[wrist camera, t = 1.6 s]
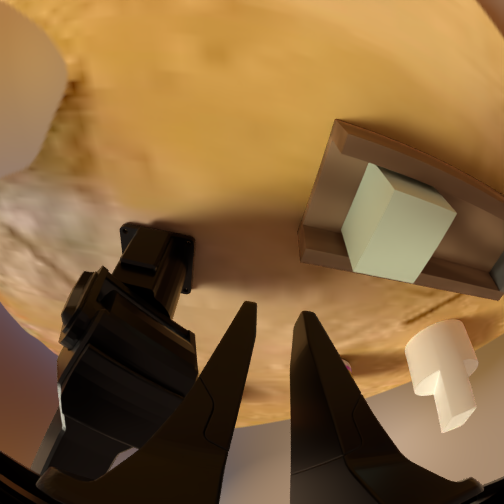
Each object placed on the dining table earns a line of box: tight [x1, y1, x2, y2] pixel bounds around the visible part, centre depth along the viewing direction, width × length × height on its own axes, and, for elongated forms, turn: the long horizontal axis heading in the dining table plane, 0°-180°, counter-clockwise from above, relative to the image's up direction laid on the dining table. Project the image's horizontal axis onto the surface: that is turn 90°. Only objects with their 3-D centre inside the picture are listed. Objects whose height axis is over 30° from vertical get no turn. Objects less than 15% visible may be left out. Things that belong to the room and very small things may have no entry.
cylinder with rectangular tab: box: [405, 319, 478, 433], centre depth 26 cm, size 9×9×12 cm
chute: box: [298, 119, 504, 301], centre depth 19 cm, size 9×22×4 cm, turn 79°
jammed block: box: [341, 163, 457, 283], centre depth 17 cm, size 6×5×4 cm
